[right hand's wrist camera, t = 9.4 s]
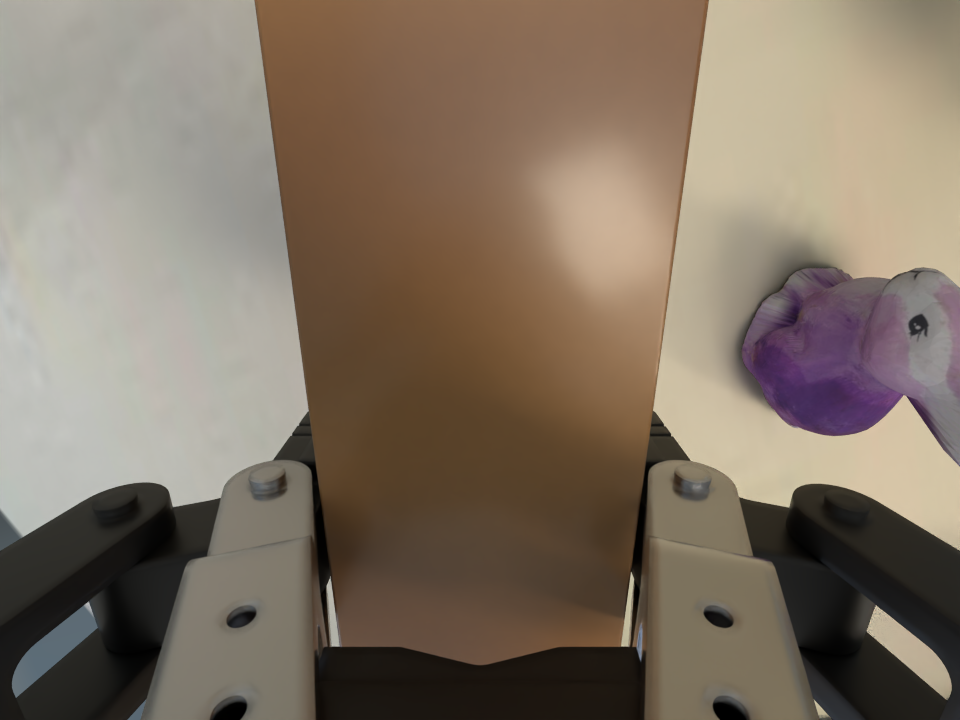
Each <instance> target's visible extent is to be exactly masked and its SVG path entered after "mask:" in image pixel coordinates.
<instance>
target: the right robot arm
mask: <svg viewBox="0 0 960 720" xmlns="http://www.w3.org/2000/svg"><path fill="white" fill-rule="evenodd" d="M631 572H632V574H633V577H634V586H633V593H632V602H631V617H630V632H629V647H556V648H552V649H548V650H544V651H540V652H536V653H532V654H528V655H524V656H520V657H516V658H511V659H507V660H503V661H499V662H495V663H491V664H486V665H474V664H469V663H465V662H461V661H457V660H453V659H449V658H444V657H440V656H436V655H432V654H428V653H424V652H420V651H416V650H412V649H408V648H404V647H331V632H330V617H329V602H328V593H327V584H328V581H329V578H330V576H331V575H330V567H329V560H328V552H327V545H326V537H325V529H324V522H323V514H322V507H321V499H320V492H319V484H318V476H317V469H316V461H315V454H314V446H313V439H312V431H311V423H310V416H309V412H307V414H306V415H305V417H304V418H303V419H302V421H301V422H300V423H299V426H297V428H296V429H295V430H294V432H293V433H292V436H290V437H289V439H288V440H287V442H286V443H285V444H284V446H283V447H282V448H281V450H280V451H279V453H278V454H277V455H276V457H275V458H274V460H273V461H268V462H263V463H260V464H256V465H253V466H251V467H248V468H246V469H244V470H242V471H240V472H239V473H237V474H235V475H234V476H233V477H232V478H231V479H230V480H228V482H227V483H226V484H225V486H224V489H223V492H222V496H221V498H219V499H214V500H210V501H205V502H199V503H194V504H189V505H183V506H178V507H173V506H172V502H171V498H170V494H169V491H168V489H167V488H166V487H164V486H162V485H160V484H156V483H133V484H127V485H123V486H119V487H115V488H112V489H108V490H106V491H103V492H101V493H98V494H96V495H94V496H92V497H90V498H88V499H86V500H84V501H83V502H81V503H79V504H78V505H76V506H74V507H73V508H71V509H69V510H68V511H66V512H64V513H63V514H61V515H59V516H58V517H56V518H54V519H53V520H51V521H49V522H48V523H46V524H44V525H43V526H41V527H39V528H38V529H36V530H34V531H33V532H31V533H29V534H28V535H26V536H24V537H23V538H21V539H19V540H18V541H16V542H14V543H13V544H11V545H9V546H8V547H6V548H4V549H3V550H1V551H0V720H127V719H128V718H129V717H130V716H131V715H132V714H133V713H134V712H135V711H136V709H137V708H138V707H139V706H140V705H141V704H142V703H143V702H144V701H145V700H146V703H145V706H144V710H143V713H142V716H141V720H819V716H818V713H817V709H816V706H815V703H814V700H815V701H816V702H817V703H818V704H819V705H820V706H821V707H822V708H823V710H824V711H825V712H826V713H827V714H828V715H829V716H830V717H831V718H832V719H833V720H960V551H959V550H957V549H956V548H954V547H952V546H951V545H949V544H947V543H946V542H944V541H942V540H941V539H939V538H937V537H936V536H934V535H932V534H931V533H929V532H927V531H926V530H924V529H922V528H921V527H919V526H917V525H916V524H914V523H912V522H911V521H909V520H907V519H906V518H904V517H902V516H901V515H899V514H897V513H896V512H894V511H892V510H891V509H889V508H887V507H886V506H884V505H882V504H881V503H879V502H877V501H875V500H874V499H872V498H870V497H868V496H865V495H863V494H861V493H858V492H856V491H853V490H849V489H846V488H842V487H838V486H833V485H826V484H808V485H803V486H800V487H799V488H797V489H796V490H795V491H794V493H793V495H792V499H791V503H790V507H789V508H788V507H782V506H777V505H772V504H766V503H761V502H756V501H751V500H747V499H743V498H740V497H739V496H738V492H737V488H736V486H735V484H734V483H733V482H732V480H731V479H729V478H728V477H727V476H726V475H725V474H723V473H722V472H720V471H718V470H716V469H714V468H712V467H709V466H707V465H704V464H700V463H697V462H692V461H690V459H689V458H688V456H687V455H686V454H685V452H684V451H683V450H682V448H681V447H680V446H679V444H678V443H677V441H676V440H675V439H674V437H671V433H670V432H669V430H668V429H667V428H666V427H664V424H663V422H662V421H661V420H660V418H659V417H658V415H657V414H656V413H655V412H654V411H653V413H652V420H651V428H650V435H649V442H648V450H647V457H646V464H645V472H644V479H643V486H642V494H641V501H640V508H639V516H638V523H637V530H636V538H635V545H634V553H633V560H632V567H631ZM88 601H89V603H90V606H91V609H92V612H93V615H94V617H95V620H96V623H97V626H98V628H97V629H96V630H95V631H94V632H93V633H91V634H90V635H89V636H88V637H87V638H86V639H84V640H83V641H82V642H81V643H80V644H79V645H77V646H76V647H75V648H74V649H73V650H72V651H70V652H69V653H68V654H67V655H66V656H65V657H63V658H62V659H61V660H60V661H59V662H58V663H56V664H55V665H54V666H53V667H52V668H51V669H49V670H48V671H47V672H46V673H45V674H44V675H42V676H41V677H40V678H39V679H38V680H37V681H35V682H34V683H33V684H32V685H31V686H30V687H28V688H27V689H26V690H25V691H24V692H23V693H21V694H20V695H19V696H18V697H17V698H16V697H15V695H14V693H13V690H12V678H13V674H14V671H15V669H16V667H17V665H18V663H19V662H20V660H21V659H22V657H23V656H24V655H25V653H26V652H27V651H28V650H29V649H30V648H31V647H32V646H33V645H34V644H35V643H37V642H38V641H39V640H40V639H42V638H43V637H44V636H45V635H47V634H48V633H49V632H51V631H52V630H53V629H54V628H56V627H57V626H58V625H59V624H61V623H62V622H63V621H64V620H66V619H67V618H68V617H69V616H71V615H72V614H73V613H74V612H76V611H77V610H78V609H80V608H81V607H82V606H83V605H85V604H86V603H87V602H88ZM875 605H877V606H878V607H879V608H880V609H882V610H883V611H884V612H886V613H887V614H888V615H889V616H891V617H892V618H893V619H894V620H896V621H897V622H898V623H899V624H901V625H902V626H903V627H904V628H906V629H907V630H908V631H909V632H911V633H912V634H913V635H915V636H916V637H917V638H918V639H920V640H921V641H922V642H923V643H925V644H926V645H927V646H928V647H929V648H931V649H932V650H933V651H934V652H935V653H936V654H937V656H938V657H939V658H940V659H941V661H942V662H943V664H944V665H945V667H946V669H947V671H948V673H949V675H950V678H951V683H952V692H951V695H950V697H949V699H948V701H947V700H946V699H944V698H943V697H942V696H941V695H940V694H939V693H937V692H936V691H935V690H934V689H933V688H932V687H930V686H929V685H928V684H927V683H926V682H925V681H923V680H922V679H921V678H920V677H919V676H918V675H916V674H915V673H914V672H913V671H912V670H911V669H909V668H908V667H907V666H906V665H905V664H904V663H902V662H901V661H900V660H899V659H898V658H897V657H895V656H894V655H893V654H892V653H891V652H890V651H888V650H887V649H886V648H885V647H884V646H883V645H881V644H880V643H879V642H878V641H877V640H876V639H874V638H873V637H872V636H871V635H870V634H869V633H867V632H866V631H867V628H868V625H869V622H870V619H871V616H872V614H873V611H874V608H875Z"/></svg>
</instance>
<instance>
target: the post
mask: <svg viewBox="0 0 960 720" xmlns="http://www.w3.org/2000/svg"><path fill="white" fill-rule="evenodd" d="M708 2H709V0H255V7H256V14H257V22H258V30H259V37H260V45H261V52H262V60H263V67H264V75H265V83H266V90H267V98H268V105H269V113H270V120H271V128H272V136H273V143H274V151H275V158H276V166H277V173H278V181H279V189H280V196H281V204H282V211H283V219H284V227H285V234H286V242H287V249H288V257H289V264H290V272H291V280H292V287H293V295H294V302H295V310H296V317H297V325H298V333H299V340H300V348H301V355H302V363H303V370H304V378H305V386H306V393H307V401H308V408H309V416H310V423H311V431H312V439H313V446H314V454H315V461H316V469H317V476H318V484H319V492H320V499H321V507H322V514H323V522H324V529H325V537H326V545H327V552H328V560H329V567H330V575H331V583H332V590H333V598H334V605H335V613H336V620H337V628H338V636H339V643H340V647H404V648H408V649H412V650H416V651H420V652H424V653H428V654H432V655H436V656H440V657H444V658H449V659H453V660H457V661H461V662H465V663H469V664H474V665H486V664H491V663H495V662H499V661H503V660H507V659H511V658H516V657H520V656H524V655H528V654H532V653H536V652H540V651H544V650H548V649H552V648H556V647H621V641H622V633H623V626H624V619H625V611H626V604H627V597H628V589H629V582H630V575H631V567H632V560H633V553H634V545H635V538H636V530H637V523H638V516H639V508H640V501H641V494H642V486H643V479H644V472H645V464H646V457H647V450H648V442H649V435H650V428H651V420H652V413H653V406H654V398H655V391H656V384H657V376H658V369H659V362H660V354H661V347H662V340H663V332H664V325H665V318H666V310H667V303H668V296H669V288H670V281H671V274H672V266H673V259H674V252H675V244H676V237H677V230H678V222H679V215H680V208H681V200H682V193H683V186H684V178H685V171H686V164H687V156H688V149H689V142H690V134H691V127H692V120H693V112H694V105H695V97H696V90H697V83H698V75H699V68H700V61H701V53H702V46H703V39H704V31H705V24H706V17H707V9H708Z"/></svg>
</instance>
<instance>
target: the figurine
mask: <svg viewBox="0 0 960 720" xmlns="http://www.w3.org/2000/svg"><path fill="white" fill-rule="evenodd" d="M744 342H745V343H743V346H742V350H741V352H742V358H743V362H744V365H745V366H746V368H747V369H748V370H749V371H750V372H751V373H752V374H753V375H754V377H755V379H756V380H757V381H758V382H759V384H760V385H761V387H762V390H763V393H764V396H765V398H766V400H767V401H768V403H769V405H770V406H771V407H772V408H773V409H774V410H775V411H776V412H777V414H778V415H779V416H780V417H781V418H782V419H783V420H784V421H785V422H786V423H787V424H788V425H790V426H792V427H795V428H802V429H804V430H807V431H811V432H814V433H818V434H822V435H829V436H841V435H849V434H855V433H858V432H861V431H864V430H867V429H869V428H870V427H872V426H874V425H875V424H876V423H877V422H879V421H880V420H881V419H882V418H883V417H884V416H885V415H886V414H887V413H888V412H889V411H890V410H891V409H892V408H893V407H894V406H895V405H896V404H897V402H898V401H899V400H900V399H901V398H902V396H903V395H905V396H907V398H908V399H909V401H910V402H911V403H912V405H913V406H914V408H915V409H916V411H917V412H918V414H919V415H920V416H921V418H922V419H923V421H924V422H925V424H926V425H927V427H928V428H929V429H930V431H931V432H932V434H933V435H934V437H935V438H936V440H937V441H938V443H939V444H940V445H941V447H942V448H943V450H944V451H945V452H946V453H947V454H948V455H949V456H950V457H951V458H952V459H953V460H954V461H955V462H956V463H957V464H958V465H959V466H960V288H959V287H958V286H957V285H956V284H955V283H954V282H952V281H951V280H950V279H949V278H948V277H947V276H946V275H945V274H943V273H942V272H940V271H938V270H936V269H931V268H915V269H913V270H910V271H908V272H904V273H901V274H898V275H896V276H895V277H893V278H892V279H891V280H890V279H885V278H874V277H866V278H857V279H853V278H852V277H851V276H850V275H849V274H847V273H844V272H843V271H842V270H838V269H837V268H827V269H826V268H823V269H822V268H819V269H818V268H815V269H814V268H811V269H810V268H807V269H802V270H799V271H796V272H795V273H794V274H792V275H791V276H790V277H789V279H788V281H787V282H786V283H785V284H784V286H783V288H782V289H781V290H780V291H779V292H777V293H774V294H772V295H770V296H769V297H768V298H767V299H766V300H764V301H763V302H762V304H761V306H760V307H759V309H758V310H757V312H756V314H755V317H754V319H753V320H752V323H751V325H750V327H749V329H748V331H747V335H746V337H745V340H744Z"/></svg>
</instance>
